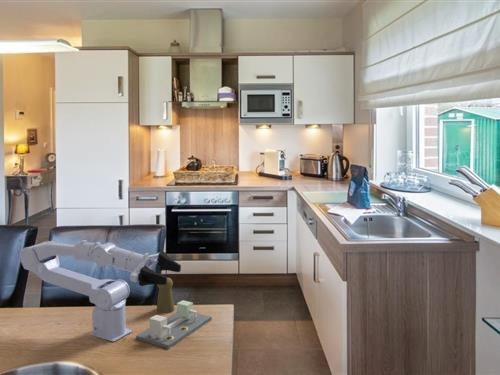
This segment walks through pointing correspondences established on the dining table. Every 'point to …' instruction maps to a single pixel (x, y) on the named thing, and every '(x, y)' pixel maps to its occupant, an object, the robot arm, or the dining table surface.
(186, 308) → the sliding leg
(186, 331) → the plate
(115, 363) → the dining table surface
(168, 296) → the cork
